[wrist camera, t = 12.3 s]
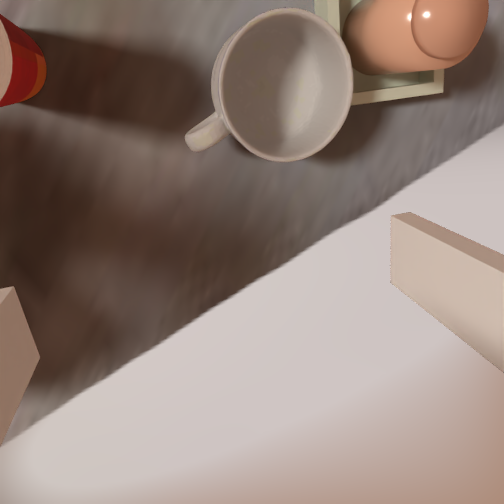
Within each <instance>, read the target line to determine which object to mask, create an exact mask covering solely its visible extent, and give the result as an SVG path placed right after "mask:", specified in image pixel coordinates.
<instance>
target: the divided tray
mask: <svg viewBox="0 0 504 504" xmlns="http://www.w3.org/2000/svg"><path fill="white" fill-rule="evenodd" d="M360 1H361V0H314V6H315V14H316V15H317V16H320V17H321V18H322V19H324V20H325V21H327V22H328V23H329V24H330V25H331V26H332V27H333V28H334V29H335V30H336V31H337V33H338V34H339V35H340V37H341V38H342V32H343V27H344V23H345V20H346V18H347V16H348V14H349V13H350V11H351V10H352V8H353V7H354V6H355V5H356V4H357V3H358V2H360ZM352 69H353V96H352V102H351V105H358V104H365V103H373V102H380V101H387V100H394V99H401V98H408V97H415V96H422V95H429V94H436V93H443V84H444V69H438V70H427V71H417V72H406V73H396V74H386V75H375V76H370V75H365V74H362V73H360V72H358V71H357V70H355V69H354V68H353V67H352Z"/></svg>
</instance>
